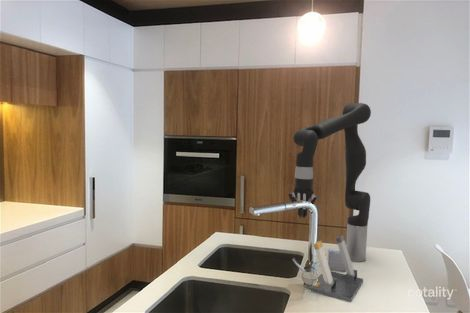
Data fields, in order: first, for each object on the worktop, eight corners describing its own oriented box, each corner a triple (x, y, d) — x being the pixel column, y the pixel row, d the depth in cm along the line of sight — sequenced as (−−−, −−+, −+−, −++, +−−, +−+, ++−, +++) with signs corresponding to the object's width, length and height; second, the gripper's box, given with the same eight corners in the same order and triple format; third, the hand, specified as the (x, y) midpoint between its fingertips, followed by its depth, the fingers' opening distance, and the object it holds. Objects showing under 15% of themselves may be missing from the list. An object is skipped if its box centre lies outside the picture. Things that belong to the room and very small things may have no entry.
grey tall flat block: (351, 276, 148) (338, 235, 150) (356, 276, 147) (343, 234, 149) (348, 280, 144) (335, 238, 146) (353, 280, 143) (340, 237, 145)
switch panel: (325, 273, 155) (325, 263, 155) (363, 282, 147) (363, 271, 147) (309, 290, 138) (309, 279, 138) (350, 302, 130) (351, 290, 130)
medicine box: (345, 268, 161) (346, 249, 160) (346, 272, 157) (347, 253, 156) (327, 266, 163) (328, 247, 163) (327, 269, 159) (328, 251, 158)
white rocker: (329, 285, 140) (316, 241, 142) (335, 284, 139) (321, 240, 140) (326, 289, 136) (312, 244, 138) (331, 289, 135) (318, 243, 137)
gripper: (322, 177, 150) (320, 217, 152) (292, 174, 158) (291, 212, 159) (316, 179, 144) (314, 221, 146) (285, 176, 151) (284, 216, 153)
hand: (302, 216), depth 152 cm, fingers closed
